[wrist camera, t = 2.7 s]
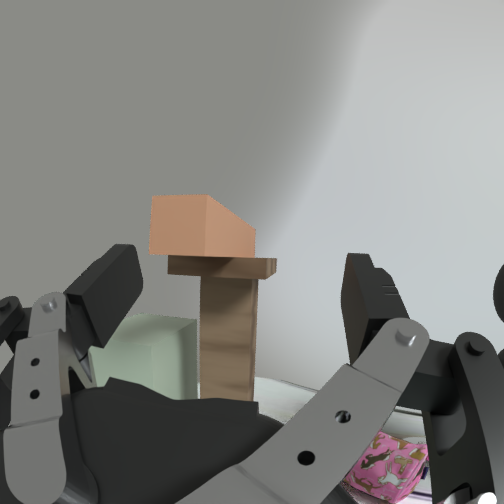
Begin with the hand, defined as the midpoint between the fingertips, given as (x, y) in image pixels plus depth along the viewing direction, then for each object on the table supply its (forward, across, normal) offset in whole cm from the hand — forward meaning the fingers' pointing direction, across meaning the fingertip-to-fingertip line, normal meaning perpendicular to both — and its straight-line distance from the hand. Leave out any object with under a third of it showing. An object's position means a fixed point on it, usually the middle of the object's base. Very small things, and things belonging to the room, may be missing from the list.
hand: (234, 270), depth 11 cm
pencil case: (+6, -14, +40) cm, 43 cm away
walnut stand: (+7, +5, +40) cm, 41 cm away
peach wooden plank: (+18, +5, +9) cm, 20 cm away
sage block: (+7, +17, +40) cm, 44 cm away
